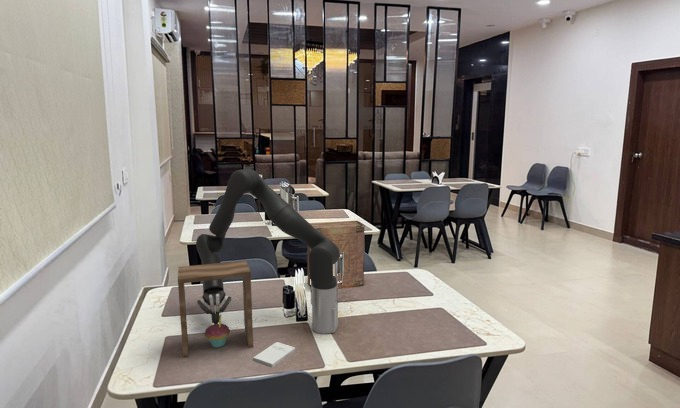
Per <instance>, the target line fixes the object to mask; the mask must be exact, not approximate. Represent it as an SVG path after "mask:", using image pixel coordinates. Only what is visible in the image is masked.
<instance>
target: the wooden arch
mask: <svg viewBox="0 0 680 408" xmlns="http://www.w3.org/2000/svg"><path fill="white" fill-rule="evenodd" d="M177 270H178V271H177V289H178V301H179V316H180V331H181V333H180V334H181V344H182V358H183V359H186V358H189V342H188V341H189V337H188V335H189V334H188V322H187V308H186V306H187V305H186V291H185V284H188V283H198V282H203V281H209V280H218V279H223V280H224V279H225V280H226V279H227V280H228V279H234V278H235V279H236V278H242V295H243V323H244V325H243V326H244V334H245V339H246V341H247V345H248V348H254V331H253V330H254V328H253V327H254V325H253V324H254V323H253V305H252V304H253V303H252V300H253V299H252V279H251V278H252V272H251V270H250V267H249V264H248V261H247V260H237V261H226V262H221V263H214V264H204V265H202V264H196V265H184V266H178V269H177Z"/></svg>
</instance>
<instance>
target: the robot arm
mask: <svg viewBox="0 0 680 408" xmlns="http://www.w3.org/2000/svg"><path fill="white" fill-rule="evenodd" d="M227 182H228V183H227V185H226V189H225V191H224V193H223V197H222V200H221V202H220V205H219V208H218V210H217V211H216V213H215V215H214V217H213V219H212V220H211V223H210V225H209V227H208V228H209V229H208V230H209V232H210V233H211V234H212V235H211V234H208V233H207V234H206V233H202V234H199V235H198V237H197V238H196V240H195V245H196V251H197V253H198V256H199V258H200V261H201V265H204V264H214V263H222V262H221V258H220V256H219V255H218V253H220V252H222V250H223V248H224V243H225V237H226V235H227V233H228V230H229V228H230V226H231V225H232V223H233V221H234V217H235V214H236V213H235V212H236V208H237V205H238V203H239V201H240V199H242V197H243V195H244V194H251V195H252V196H254V198H256V199H257V200H258V201H259V203H261V205H262V206H263V208H264V211H265V213H266V215H267V218H268V219H269V220H270V221H271V222H272V224H274V225H275V226H276V227H277V228H278V229H279V230H280V231H281V232H283V233H285V234H286V235H288V236H290V237H292V238H294V239H296V240H299V241H300V242H302V243H304V244H305V245H306V246H307V247H308V246H309V247H310V248H311V251H310V254H309V273H310V279H311V281H312V287H311V327H312V328H311V329H312V331H313V332H314V333H317V334H321V335H322V334H323V335H327V334H331V333H333V334H334V333H336V331H337V330H338V327H339V303H338V301H337V291H338V289H337V280H336V277H335V276H333V264H335V263H336V262H337V261H338V259H339V257H340V252H339V249H338V247H337V246H336V245H335V244H334V243H333V242H332V241H331V240H329V239H328V238H327V237H325V236H324V235H323V234H321V233H320V232H319V231H317V230H316V229H315V228H314V227H313V226H312V225H311V224H312V223H310V222H309V221H307V220H306V219H305V218H304V216H302V215H301V214H300V213H299V212H298V211H297V210H296V209H295V208H294V207H293V206H291V205H290V203H288V202H287V201H285V199H283V198H282V196H280V195H279V194H278V193H277V192H276V191H275V190H273V188H272V187H271V186H270V185H269V184H268V183H267V182H266V181H265V179H264V178H263V177H262V175H260V174H259V173H258V172H257V171H255V170H254V169H252V168H245V169H244V168H243V169H238V170H235V171H234V172H233V173H231V175H230V177H229V180H228V181H227ZM202 293H203V294H202V296H201V297H202V298H200V300H197V301H196V302H197V303H196V304H197V306H198V307H199V308H200V309H201V310H202V311H203V312H204V313H205V314H207V315H211V323H212V324H219V316H220V314H222V313H224V312H225V311H226V309H227V307H228V306H229V305H230V303H231V302H232V296H228V295H226V292H225V288H224V279H218V280H209V281H202ZM223 301H224V303H223ZM205 303H206V304H207V305H208V306H209V307H207V305H206V304H205ZM222 303H223V304H222ZM221 304H222V306H221V307H220V305H221Z"/></svg>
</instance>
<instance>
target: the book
mask: <svg viewBox="0 0 680 408" xmlns="http://www.w3.org/2000/svg"><path fill="white" fill-rule="evenodd" d="M310 224H311V225H312V226H313V227H314V228H315V229H316V230H317V231H319V232H320V233H321V234H323V235H324V236H325V237H327V238H328V239H329V240H331V241H332V242H333V243H334V244H335V245H336V246H337V247H338V249H339V252H344V276H343V285H340V284H338V289H337V290H339V289H341V290H342V289H349V288H357V287H364V285H365V283H364V281H365V280H364V279H365V227H366V226H365V225H364V224H363V223H361V222H360V221H358V220H355V221H354V220H353V221H351V220H350V221H337V222H324V223H322V222H321V223H310ZM310 251H311V248H310V247H309V246H308V245H307V285H308V286H310V274H309V254H310ZM338 281H339V282H340V274H339V273H338Z"/></svg>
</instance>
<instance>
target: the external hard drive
mask: <svg viewBox="0 0 680 408" xmlns="http://www.w3.org/2000/svg"><path fill="white" fill-rule="evenodd" d="M295 351H296V347H294V346H291V345H287V344H284V343H282V342H279V341H277V342H274V343H273V344H271V345H270V346H268V347H267V348H266V349H264V350H262V351H260V352H259V353H258V354H256V355H255V356H253V357H252V361H254V362H257V363H260V364H263V365H266V366H269V367H271V368H274V367H275V366H276V365H277V364H278V363H280V362H281V361H282V360H284V359H285V358H287V357H288V356H289V355H290V354H292V353H293V352H295Z"/></svg>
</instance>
